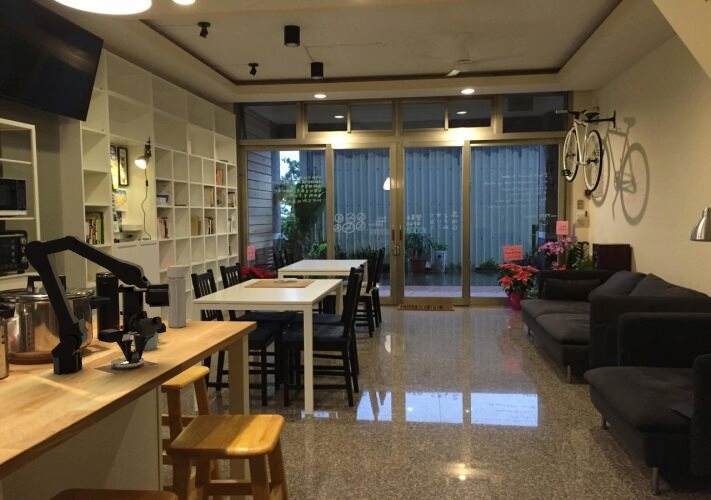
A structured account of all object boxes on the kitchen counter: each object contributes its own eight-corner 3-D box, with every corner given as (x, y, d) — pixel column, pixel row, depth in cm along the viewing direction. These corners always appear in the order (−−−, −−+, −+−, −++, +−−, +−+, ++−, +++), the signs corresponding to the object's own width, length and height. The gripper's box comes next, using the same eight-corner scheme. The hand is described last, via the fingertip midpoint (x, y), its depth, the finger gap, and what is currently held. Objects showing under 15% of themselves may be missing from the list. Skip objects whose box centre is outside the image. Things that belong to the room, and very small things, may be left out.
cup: (150, 355, 182) (149, 325, 182) (128, 354, 184) (128, 324, 183) (163, 350, 190) (162, 320, 190) (142, 349, 192) (141, 320, 191)
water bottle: (167, 325, 233) (166, 265, 232) (186, 324, 236) (186, 265, 234) (166, 329, 225) (165, 267, 223) (187, 328, 227) (186, 267, 226)
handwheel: (104, 365, 163) (104, 350, 163) (131, 359, 171) (131, 345, 171) (123, 370, 158) (122, 355, 158) (150, 363, 166) (150, 348, 165)
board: (116, 378, 156) (115, 374, 156) (93, 372, 162) (93, 368, 162) (158, 367, 168) (158, 363, 168) (136, 362, 174) (136, 358, 174)
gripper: (120, 314, 150) (121, 372, 150) (177, 306, 165) (178, 358, 166) (96, 311, 156) (97, 366, 157) (154, 302, 171) (154, 353, 172)
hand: (134, 361), depth 163 cm, fingers closed on handwheel, 3 cm apart
